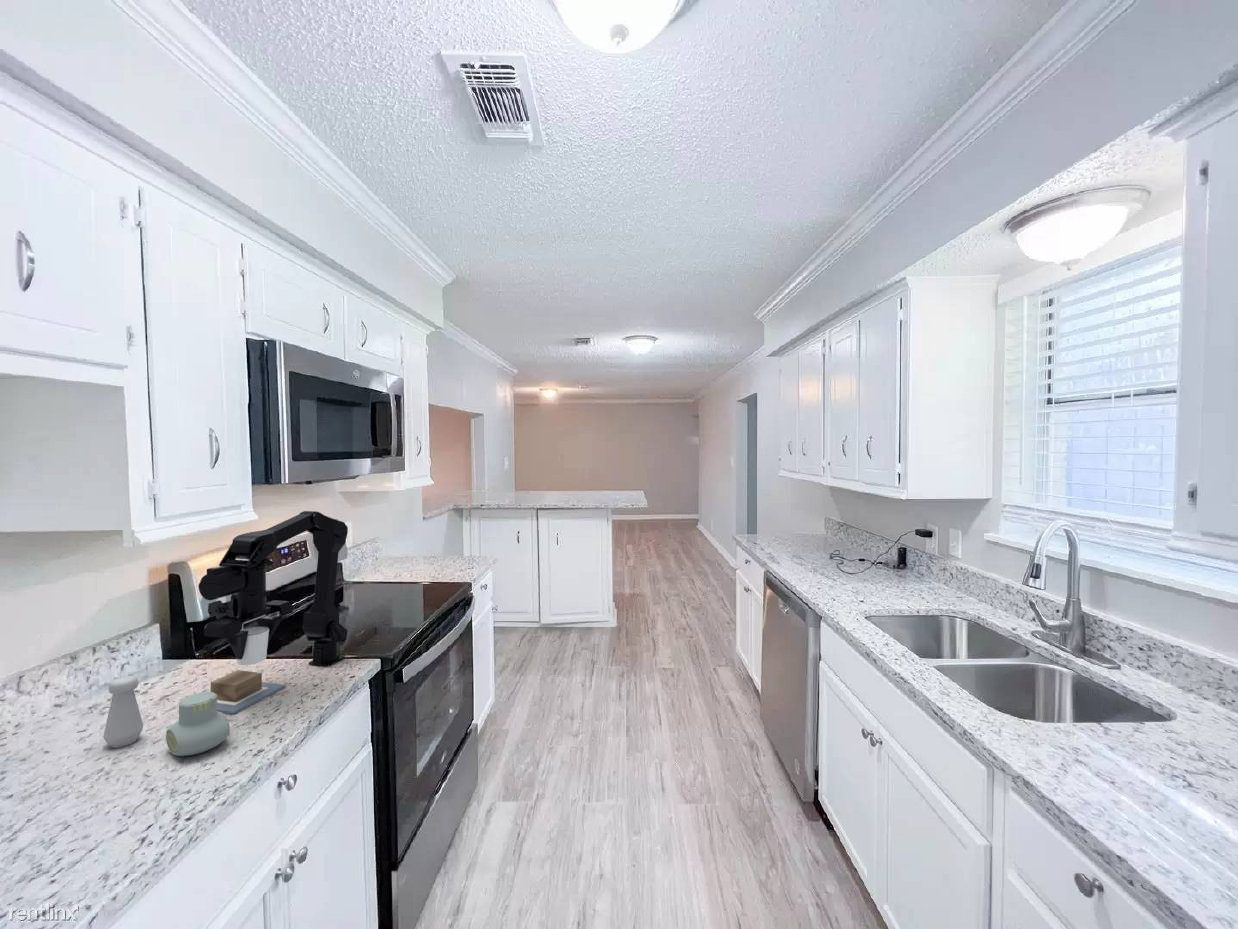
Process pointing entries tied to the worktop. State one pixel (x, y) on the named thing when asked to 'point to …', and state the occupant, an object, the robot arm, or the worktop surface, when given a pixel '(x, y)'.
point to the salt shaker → (123, 713)
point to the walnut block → (237, 685)
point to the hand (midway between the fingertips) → (251, 653)
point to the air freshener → (197, 725)
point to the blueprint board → (248, 699)
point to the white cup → (255, 645)
